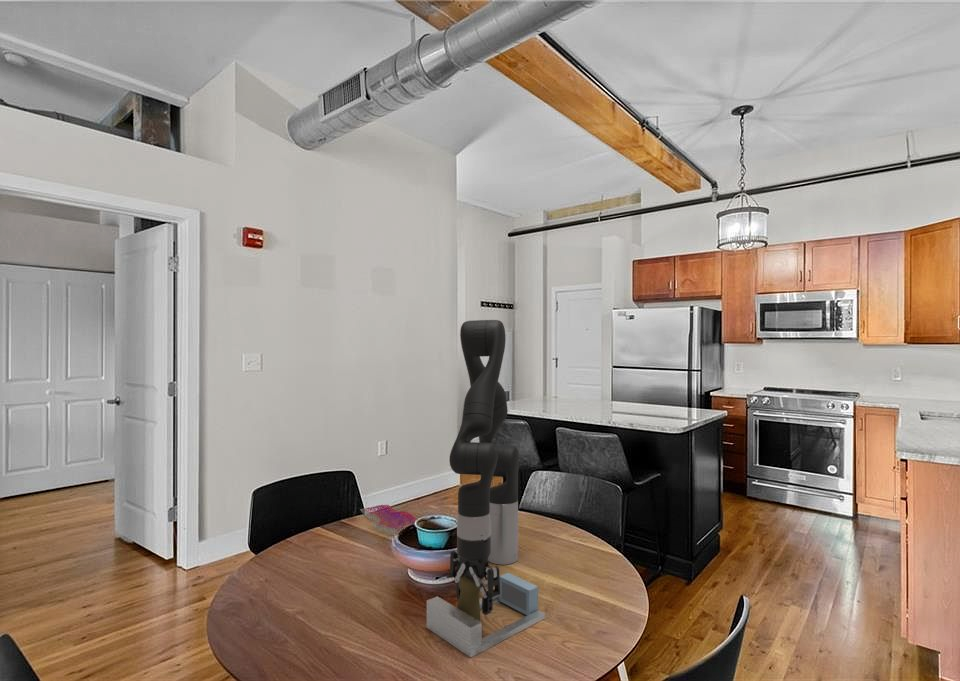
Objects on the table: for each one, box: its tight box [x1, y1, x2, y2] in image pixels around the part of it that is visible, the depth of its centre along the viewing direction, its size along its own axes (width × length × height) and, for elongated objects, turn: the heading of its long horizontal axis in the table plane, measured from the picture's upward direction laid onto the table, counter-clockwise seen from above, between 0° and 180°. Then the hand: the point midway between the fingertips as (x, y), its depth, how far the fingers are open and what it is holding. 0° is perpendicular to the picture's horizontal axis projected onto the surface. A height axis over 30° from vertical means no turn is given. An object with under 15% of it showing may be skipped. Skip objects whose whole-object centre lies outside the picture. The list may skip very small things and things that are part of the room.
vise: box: [426, 595, 546, 659], centre depth 119 cm, size 15×22×6 cm, turn 132°
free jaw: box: [498, 572, 539, 616], centre depth 126 cm, size 10×3×6 cm, turn 42°
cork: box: [456, 575, 483, 622], centre depth 118 cm, size 6×6×11 cm
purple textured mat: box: [359, 504, 417, 537], centre depth 184 cm, size 30×15×5 cm, turn 28°
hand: (474, 605), depth 116 cm, fingers open, 8 cm apart
